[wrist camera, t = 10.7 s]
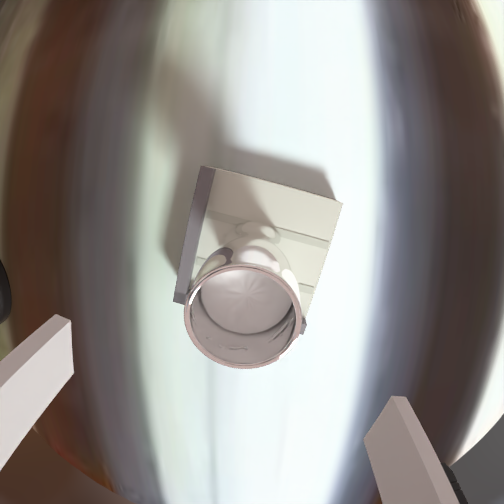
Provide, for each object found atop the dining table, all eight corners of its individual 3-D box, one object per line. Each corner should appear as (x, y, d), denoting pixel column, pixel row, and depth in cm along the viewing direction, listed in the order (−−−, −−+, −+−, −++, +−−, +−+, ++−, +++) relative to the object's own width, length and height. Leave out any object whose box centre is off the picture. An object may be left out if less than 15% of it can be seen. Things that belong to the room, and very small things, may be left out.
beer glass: (299, 232, 31) (327, 289, 16) (271, 293, 32) (274, 386, 18) (233, 205, 30) (203, 239, 16) (209, 268, 32) (166, 346, 18)
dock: (183, 286, 36) (172, 301, 32) (209, 166, 32) (200, 165, 28) (299, 315, 36) (303, 334, 32) (336, 200, 33) (346, 204, 28)
